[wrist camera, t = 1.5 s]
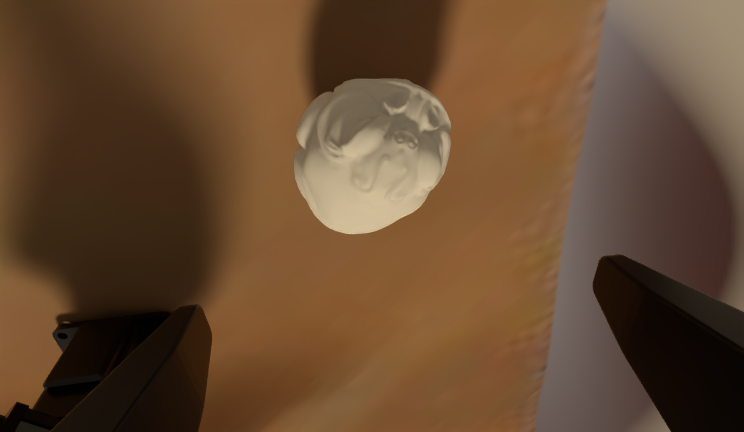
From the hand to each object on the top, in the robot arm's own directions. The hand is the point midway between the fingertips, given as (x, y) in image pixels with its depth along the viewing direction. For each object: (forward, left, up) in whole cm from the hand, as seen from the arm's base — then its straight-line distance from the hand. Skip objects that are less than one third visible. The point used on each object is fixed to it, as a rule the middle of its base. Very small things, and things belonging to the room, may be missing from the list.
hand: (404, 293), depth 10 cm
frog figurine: (0, 0, -13) cm, 13 cm away
